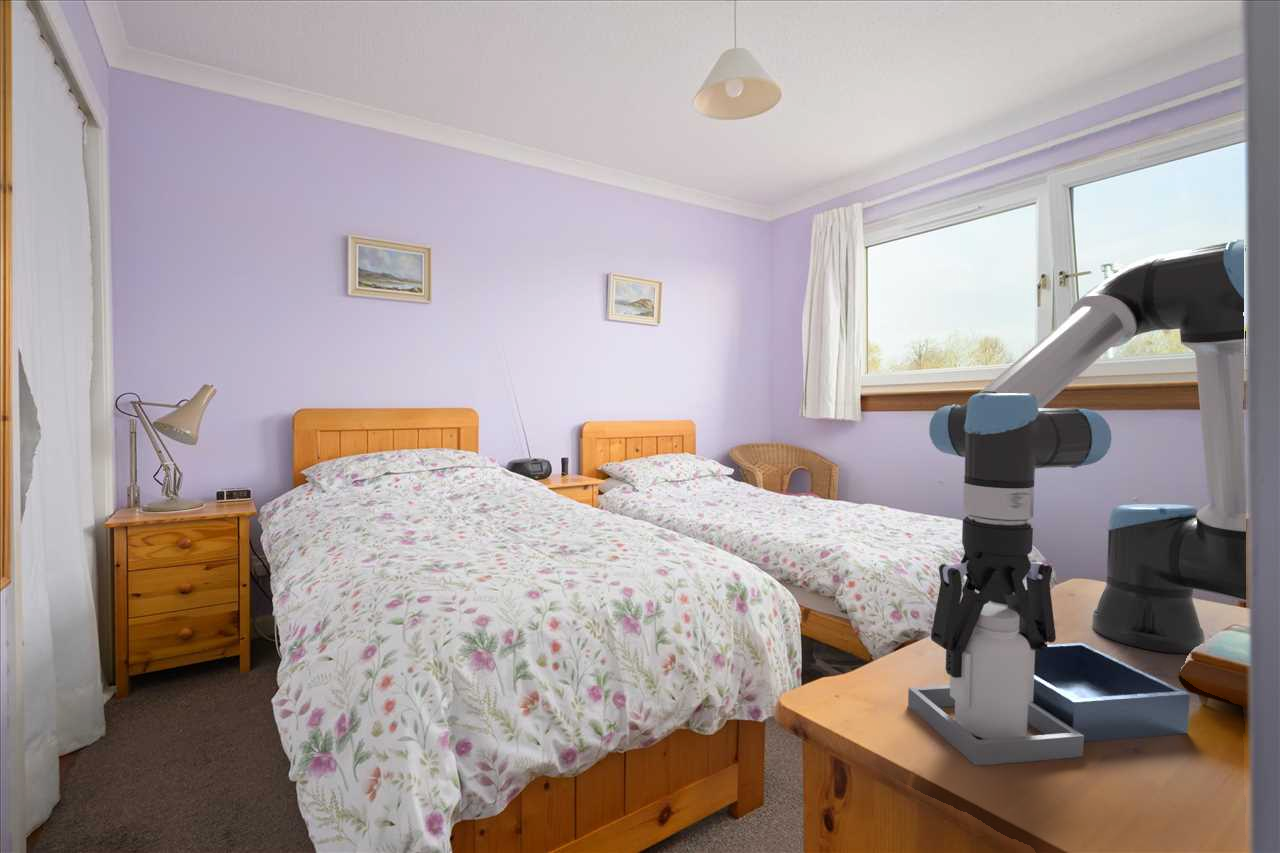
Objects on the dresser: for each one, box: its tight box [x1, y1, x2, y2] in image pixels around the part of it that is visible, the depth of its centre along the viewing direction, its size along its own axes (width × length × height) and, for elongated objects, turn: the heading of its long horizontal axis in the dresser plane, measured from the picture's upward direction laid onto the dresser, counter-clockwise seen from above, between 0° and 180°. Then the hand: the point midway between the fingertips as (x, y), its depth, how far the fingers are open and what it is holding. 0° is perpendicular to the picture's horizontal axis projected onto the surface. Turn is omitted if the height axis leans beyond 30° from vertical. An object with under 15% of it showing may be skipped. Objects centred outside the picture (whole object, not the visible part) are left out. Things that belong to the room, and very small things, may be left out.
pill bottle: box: [954, 604, 1031, 740], centre depth 78 cm, size 8×8×15 cm
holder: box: [907, 684, 1085, 767], centre depth 78 cm, size 14×14×2 cm
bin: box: [1032, 642, 1191, 743], centre depth 84 cm, size 16×16×5 cm
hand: (991, 698), depth 78 cm, fingers closed on pill bottle, 8 cm apart
